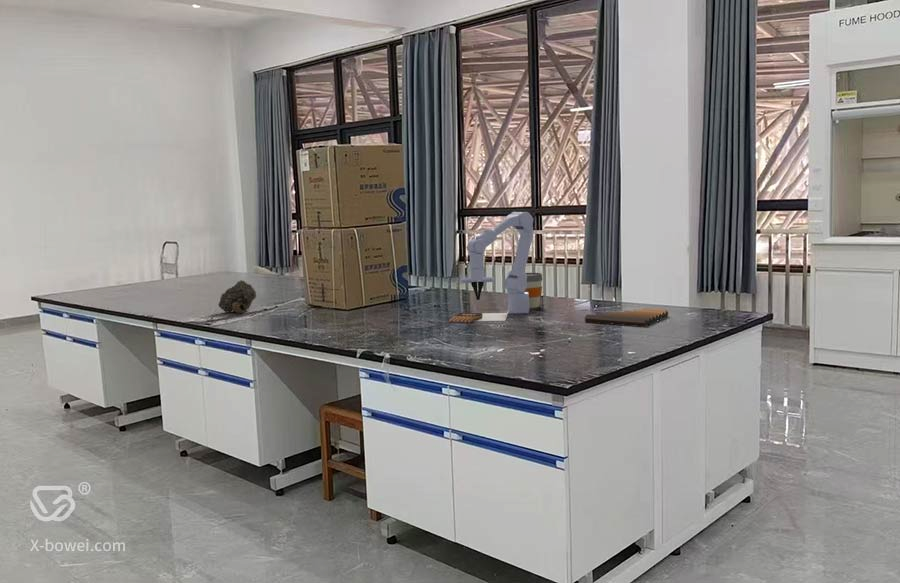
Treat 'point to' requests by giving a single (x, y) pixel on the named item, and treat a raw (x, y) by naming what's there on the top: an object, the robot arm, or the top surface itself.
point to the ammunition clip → (466, 317)
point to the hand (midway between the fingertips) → (478, 299)
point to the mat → (493, 317)
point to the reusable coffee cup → (534, 288)
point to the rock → (237, 298)
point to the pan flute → (629, 317)
